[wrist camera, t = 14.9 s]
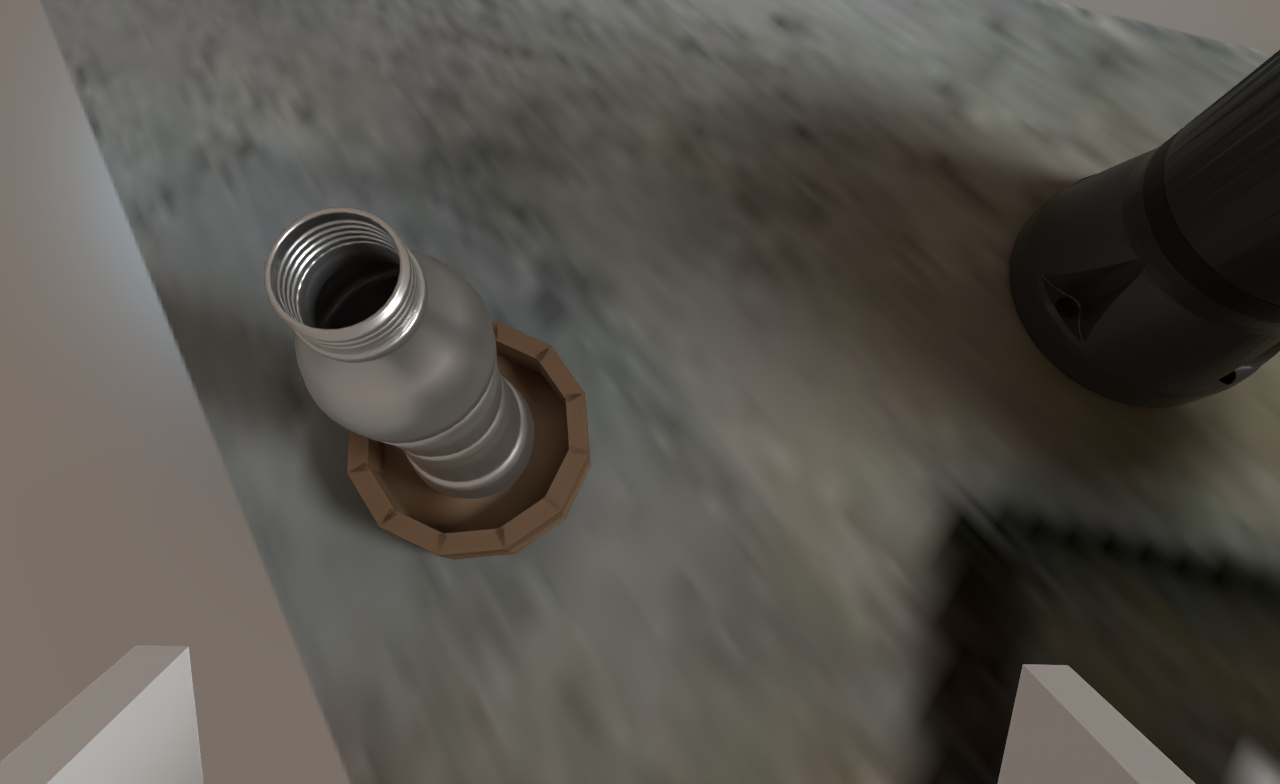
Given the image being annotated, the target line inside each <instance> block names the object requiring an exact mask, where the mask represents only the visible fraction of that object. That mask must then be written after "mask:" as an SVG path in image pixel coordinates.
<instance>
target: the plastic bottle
mask: <svg viewBox="0 0 1280 784" xmlns="http://www.w3.org/2000/svg"><path fill="white" fill-rule="evenodd" d="M264 282H265V290H266V292H267V295H268V298H269V301H270V302H271V304H272V306H273V307H274V309H275V310H276V312H277V313H278V315H279V316H280V317H281V318H282V319H283V320H284V321H285V322H286V323H287V324H288V325H289V326H291V327H292V329H293V330H294V332H295V352H296V359H297V363H298V366H299V369H300V371H301V374H302V377H303V379H304V382H305V384H306V387H307V389H308V392H309V393H310V395H311V396H312V398H313V399H314V401H315V402H316V404H317V405H318V407H319V408H320V409H321V410H322V411H323V412H324V413H325V414H327V415H328V416H329V417H330V418H331V419H332V420H333V421H335V422H337V423H338V424H340V425H341V426H343V427H345V428H346V429H348V430H350V431H353V432H355V433H356V434H358V435H361V436H364V437H367V438H370V439H372V440H375V441H379V442H383V443H387V444H390V445H394V446H397V447H398V448H400V449H402V450H403V451H404V452H405V453H406V456H407V458H408V460H409V462H410V463H411V465H412V466H413V468H414V469H415V471H416V472H417V474H418V475H419V477H420V478H421V479H422V480H423V481H424V482H425V483H426V484H427V485H429V486H430V487H431V488H433V489H435V490H436V491H438V492H440V493H442V494H445V495H447V496H450V497H454V498H461V499H474V498H484V497H488V496H492V495H495V494H497V493H499V492H501V491H503V490H505V489H506V488H507V487H509V486H510V485H511V484H513V483H514V482H515V481H516V480H517V479H518V478H519V476H520V475H521V474H522V473H523V471H524V469H525V468H526V466H527V464H528V462H529V459H530V456H531V453H532V449H533V444H534V437H535V432H534V421H533V417H532V413H531V410H530V408H529V406H528V404H527V402H526V400H525V399H524V397H523V396H522V394H521V393H520V392H519V391H518V390H517V389H516V387H515V386H514V385H513V384H511V383H510V382H509V381H508V380H507V379H506V378H505V377H503V376H502V375H501V374H500V372H499V368H498V365H497V354H496V339H495V335H494V331H493V326H492V322H491V319H490V314H489V312H488V310H487V307H486V305H485V303H484V301H483V299H482V297H481V296H480V294H479V293H478V292H477V290H476V289H475V288H474V286H473V285H472V284H471V283H470V282H469V281H468V280H467V279H465V278H464V277H463V276H462V275H461V274H460V273H459V272H457V271H456V270H454V269H453V268H452V267H450V266H449V265H447V264H445V263H444V262H442V261H440V260H438V259H437V258H435V257H433V256H430V255H427V254H424V253H421V252H419V251H414V250H409V249H408V248H407V247H406V246H405V245H404V244H403V242H402V240H401V239H400V238H399V236H398V235H397V234H396V232H395V231H394V230H393V229H392V228H391V227H390V226H389V225H388V224H386V223H385V222H384V221H383V220H382V219H380V218H379V217H377V216H375V215H373V214H372V213H370V212H367V211H364V210H361V209H357V208H350V207H330V208H325V209H320V210H317V211H314V212H312V213H309V214H306V215H304V216H303V217H301V218H299V219H298V220H296V221H294V222H293V223H292V224H291V225H289V226H288V227H287V228H286V229H285V230H284V231H283V232H282V233H281V234H280V235H279V237H278V238H277V239H276V240H275V242H274V244H273V246H272V247H271V249H270V251H269V253H268V256H267V260H266V263H265V270H264Z"/></svg>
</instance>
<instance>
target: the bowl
mask: <svg viewBox="0 0 1280 784" xmlns="http://www.w3.org/2000/svg"><path fill="white" fill-rule="evenodd" d="M492 326H493V331H494V335H495V339H496V354H497V365H498V368H499V372H500V374H501V375H502V376H503V377H505V378H506V379H507V380H508V381H509V382H510V383H511V384H513V385H514V386H515V387H516V389H517V390H518V391H519V392H520V393H521V394H522V396H523V397H524V399H525V400H526V402H527V404H528V406H529V408H530V410H531V413H532V417H533V421H534V432H535V437H534V444H533V449H532V453H531V456H530V459H529V462H528V464H527V466H526V468H525V469H524V471H523V473H522V474H521V475H520V476H519V478H518V479H517V480H516V481H515V482H514V483H513V484H511V485H510V486H509V487H507V488H506V489H505V490H503V491H501V492H499V493H497V494H495V495H492V496H488V497H484V498H474V499H461V498H454V497H450V496H447V495H445V494H442V493H440V492H438V491H436V490H435V489H433V488H431V487H430V486H429V485H427V484H426V483H425V482H424V481H423V480H422V479H421V478H420V477H419V475H418V474H417V472H416V471H415V469H414V468H413V466H412V465H411V463H410V462H409V460H408V458H407V456H406V453H405V452H404V451H403V450H402V449H400V448H398V447H397V446H394V445H390V444H387V443H383V442H379V441H375V440H372V439H370V438H367V437H364V436H361V435H358V434H356V433H355V432H353V431H350V430H349V433H348V461H347V474H348V475H349V477H350V479H351V480H352V482H353V484H354V485H355V487H356V489H357V491H358V492H359V494H360V496H361V497H362V499H363V501H364V502H365V504H366V506H367V507H368V509H369V511H370V512H371V514H372V516H373V517H374V519H375V521H376V522H377V524H378V526H379V527H381V528H383V529H385V530H387V531H389V532H391V533H393V534H395V535H397V536H399V537H401V538H403V539H405V540H407V541H409V542H411V543H413V544H416V545H418V546H420V547H422V548H424V549H426V550H428V551H430V552H432V553H434V554H436V555H439V556H443V557H447V558H451V559H463V558H473V557H484V556H494V555H505V554H514V553H516V552H518V551H519V550H520V549H522V548H523V547H525V546H526V545H528V544H529V543H531V542H532V541H533V540H535V539H536V538H538V537H539V536H541V535H542V534H543V533H545V532H546V531H548V530H549V529H551V528H552V527H554V526H555V525H556V524H558V523H559V522H561V521H562V520H564V519H565V517H566V515H567V513H568V511H569V509H570V507H571V505H572V503H573V501H574V499H575V497H576V495H577V493H578V491H579V489H580V487H581V485H582V482H583V480H584V478H585V476H586V474H587V472H588V470H589V468H590V466H591V465H590V452H589V438H588V425H587V412H586V402H585V393H584V391H583V390H582V388H581V387H580V386H579V384H578V383H577V381H576V380H575V379H574V377H573V376H572V374H571V373H570V372H569V370H568V369H567V367H566V366H565V365H564V363H563V362H562V360H561V359H560V358H559V356H558V355H557V353H556V352H555V351H554V349H553V348H552V346H551V345H549V344H546V343H544V342H542V341H540V340H537V339H535V338H533V337H531V336H529V335H526V334H524V333H522V332H520V331H517V330H515V329H513V328H511V327H509V326H506V325H504V324H502V323H500V322H497V321H496V322H492Z"/></svg>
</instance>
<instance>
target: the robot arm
mask: <svg viewBox="0 0 1280 784" xmlns="http://www.w3.org/2000/svg"><path fill="white" fill-rule="evenodd" d="M1011 285H1012V291H1013V295H1014V299H1015V303H1016V306H1017V309H1018V311H1019V314H1020V316H1021V318H1022V320H1023V322H1024V324H1025V326H1026V328H1027V330H1028V331H1029V333H1030V335H1031V336H1032V338H1033V339H1034V341H1035V342H1036V343H1037V345H1038V346H1039V347H1040V348H1041V350H1042V351H1043V352H1044V353H1045V354H1046V355H1047V356H1048V357H1049V358H1050V360H1051V361H1052V362H1053V363H1054V364H1056V365H1057V366H1058V367H1059V368H1060V369H1061V370H1062V371H1064V372H1065V373H1066V374H1067V375H1069V376H1070V377H1071V378H1073V379H1074V380H1076V381H1077V382H1079V383H1080V384H1082V385H1084V386H1085V387H1087V388H1089V389H1091V390H1093V391H1094V392H1097V393H1099V394H1101V395H1103V396H1106V397H1108V398H1111V399H1114V400H1117V401H1120V402H1124V403H1128V404H1132V405H1138V406H1146V407H1169V406H1177V405H1182V404H1186V403H1189V402H1192V401H1195V400H1198V399H1201V398H1204V397H1207V396H1210V395H1213V394H1216V393H1219V392H1222V391H1224V390H1227V389H1229V388H1230V387H1232V386H1234V385H1236V384H1238V383H1240V382H1241V381H1243V380H1244V379H1246V378H1247V377H1249V376H1250V375H1251V374H1253V373H1254V372H1255V371H1256V370H1257V369H1258V368H1259V367H1260V366H1261V365H1263V364H1264V363H1266V362H1267V361H1268V360H1269V359H1271V358H1272V357H1273V356H1274V355H1275V354H1277V353H1278V352H1279V351H1280V50H1279V51H1278V52H1276V53H1275V54H1274V55H1273V56H1272V57H1270V58H1269V59H1268V60H1267V61H1265V62H1264V63H1263V64H1262V65H1261V66H1259V67H1258V68H1257V69H1256V70H1254V71H1253V72H1252V73H1251V74H1249V75H1248V76H1247V77H1246V78H1244V79H1243V80H1242V81H1241V82H1239V83H1238V84H1237V85H1236V86H1234V87H1233V88H1232V89H1231V90H1229V91H1228V92H1227V93H1226V94H1224V95H1223V96H1222V97H1221V98H1219V99H1218V100H1217V101H1216V102H1214V103H1213V104H1212V105H1211V106H1209V107H1208V108H1207V109H1206V110H1204V111H1203V112H1202V113H1201V114H1199V115H1198V116H1197V117H1196V118H1194V119H1193V120H1192V121H1191V122H1189V123H1188V124H1187V125H1186V126H1185V127H1184V128H1182V129H1181V130H1180V131H1179V132H1177V133H1176V134H1175V135H1174V136H1172V137H1171V138H1170V139H1169V140H1167V141H1166V142H1165V143H1164V144H1162V145H1161V146H1160V147H1159V148H1156V149H1154V150H1151V151H1149V152H1147V153H1144V154H1142V155H1140V156H1137V157H1135V158H1132V159H1130V160H1128V161H1125V162H1123V163H1121V164H1118V165H1116V166H1114V167H1112V168H1109V169H1107V170H1105V171H1103V172H1100V173H1098V174H1095V175H1092V176H1089V177H1086V178H1083V179H1081V180H1078V181H1076V182H1074V183H1073V184H1071V185H1069V186H1068V187H1066V188H1065V189H1063V190H1061V191H1060V192H1059V193H1057V194H1056V195H1055V196H1054V197H1053V198H1052V199H1050V200H1049V201H1048V202H1047V203H1046V204H1045V205H1044V206H1043V207H1041V208H1040V209H1039V210H1038V211H1037V212H1036V213H1035V214H1034V215H1033V216H1032V217H1031V218H1030V219H1029V220H1028V221H1027V223H1026V224H1025V225H1024V227H1023V229H1022V230H1021V232H1020V234H1019V236H1018V238H1017V240H1016V243H1015V246H1014V249H1013V253H1012V259H1011ZM0 784H204V783H203V773H202V765H201V755H200V746H199V737H198V728H197V719H196V710H195V701H194V692H193V683H192V674H191V665H190V655H189V648H188V647H185V646H182V647H181V646H137V645H136V646H135V647H134V648H132V649H131V650H130V651H129V652H128V653H127V654H125V655H124V656H123V657H122V658H121V659H120V660H119V661H117V662H116V663H115V664H114V665H113V666H111V667H110V668H109V669H108V670H107V671H106V672H104V673H103V674H102V675H101V676H100V677H99V678H97V679H96V680H95V681H94V682H93V683H92V684H90V685H89V686H88V687H87V688H86V689H85V690H84V691H82V692H81V693H80V694H79V695H78V696H76V698H74V699H73V700H72V701H71V702H69V703H68V704H67V705H66V706H65V707H64V708H62V709H61V710H60V711H59V712H58V713H57V714H55V715H54V716H53V717H52V718H51V719H50V720H48V721H47V722H46V723H45V724H44V725H43V726H41V727H40V728H39V729H38V730H37V731H36V732H34V734H32V735H31V736H30V737H29V738H27V739H26V740H25V741H24V742H23V743H22V744H20V745H19V746H18V747H17V748H16V749H15V750H13V751H12V752H11V753H10V754H9V755H8V756H6V757H5V758H4V759H3V760H2V761H1V762H0ZM998 784H1195V783H1194V782H1193V781H1192V780H1191V779H1190V778H1189V777H1188V776H1187V775H1186V774H1185V773H1183V772H1182V771H1181V770H1180V769H1179V768H1178V767H1177V766H1176V765H1175V764H1174V763H1173V762H1172V761H1171V760H1169V759H1168V758H1167V757H1166V756H1165V755H1164V754H1163V753H1162V752H1161V751H1160V750H1159V749H1158V748H1157V747H1155V746H1154V745H1153V744H1152V743H1151V742H1150V741H1149V740H1148V739H1147V738H1146V737H1145V736H1144V735H1143V734H1141V733H1140V732H1139V731H1138V730H1137V729H1136V728H1135V727H1134V726H1133V725H1132V724H1131V723H1130V722H1129V721H1127V720H1126V719H1125V718H1124V717H1123V716H1122V715H1121V714H1120V713H1119V712H1118V711H1117V710H1116V709H1114V708H1113V707H1112V706H1111V705H1110V704H1109V703H1108V702H1107V701H1106V700H1105V699H1104V698H1103V697H1102V696H1100V695H1099V694H1098V693H1097V692H1096V691H1095V690H1094V689H1093V688H1092V687H1091V686H1090V685H1089V684H1088V683H1086V682H1085V681H1084V680H1083V679H1082V678H1081V677H1080V676H1079V675H1078V674H1077V673H1076V672H1075V671H1074V670H1072V669H1071V668H1070V667H1069V666H1068V665H1027V664H1023V666H1022V671H1021V676H1020V681H1019V685H1018V690H1017V695H1016V699H1015V704H1014V709H1013V714H1012V718H1011V723H1010V728H1009V733H1008V737H1007V742H1006V747H1005V751H1004V756H1003V761H1002V766H1001V770H1000V775H999V780H998Z"/></svg>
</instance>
